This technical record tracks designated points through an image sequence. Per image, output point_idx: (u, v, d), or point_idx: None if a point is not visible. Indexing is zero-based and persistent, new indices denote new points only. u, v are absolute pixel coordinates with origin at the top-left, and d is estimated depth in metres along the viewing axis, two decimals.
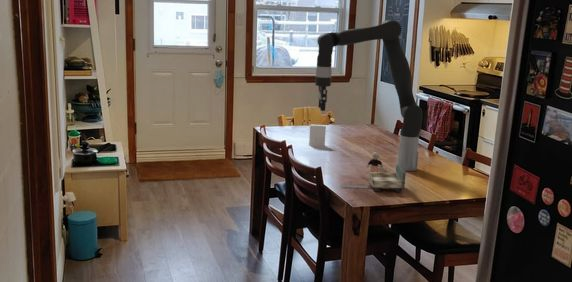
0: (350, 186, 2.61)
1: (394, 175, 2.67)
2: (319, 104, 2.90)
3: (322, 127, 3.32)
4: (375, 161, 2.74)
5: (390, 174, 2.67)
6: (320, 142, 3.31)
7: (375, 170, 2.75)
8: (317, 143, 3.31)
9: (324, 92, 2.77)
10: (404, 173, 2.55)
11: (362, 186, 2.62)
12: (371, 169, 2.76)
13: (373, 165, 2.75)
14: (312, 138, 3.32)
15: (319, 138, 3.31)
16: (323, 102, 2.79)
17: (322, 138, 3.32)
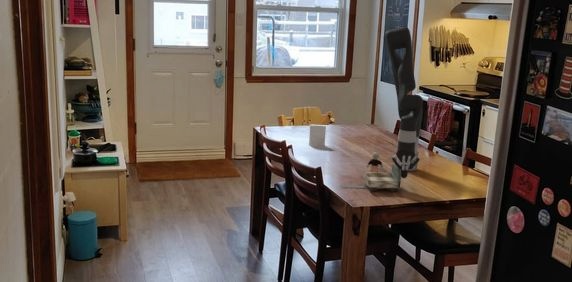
0: (350, 186, 2.61)
1: (390, 175, 2.67)
2: None
3: (322, 127, 3.32)
4: (375, 161, 2.74)
5: (386, 174, 2.67)
6: (320, 142, 3.31)
7: (375, 170, 2.75)
8: (317, 143, 3.31)
9: None
10: (400, 173, 2.54)
11: (362, 186, 2.62)
12: (371, 169, 2.76)
13: (373, 165, 2.75)
14: (312, 138, 3.32)
15: (319, 138, 3.31)
16: None
17: (322, 138, 3.32)
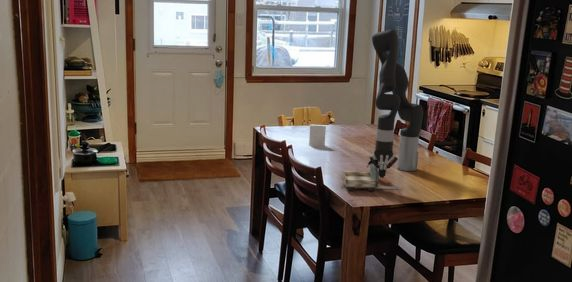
0: None
1: (368, 174, 2.67)
2: None
3: (322, 127, 3.32)
4: (375, 161, 2.74)
5: (364, 173, 2.66)
6: (320, 142, 3.31)
7: None
8: (317, 143, 3.31)
9: None
10: (377, 172, 2.54)
11: None
12: None
13: None
14: (312, 138, 3.32)
15: (319, 138, 3.31)
16: None
17: (322, 138, 3.32)
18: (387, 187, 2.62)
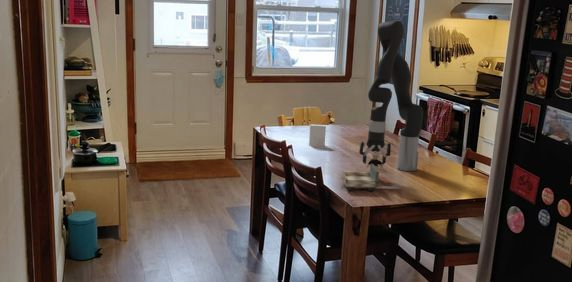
0: None
1: (368, 174, 2.67)
2: None
3: (322, 127, 3.32)
4: (375, 161, 2.74)
5: (364, 173, 2.66)
6: (320, 142, 3.31)
7: None
8: (317, 143, 3.31)
9: None
10: (377, 172, 2.54)
11: None
12: None
13: None
14: (312, 138, 3.32)
15: (319, 138, 3.31)
16: None
17: (322, 138, 3.32)
18: (387, 187, 2.62)
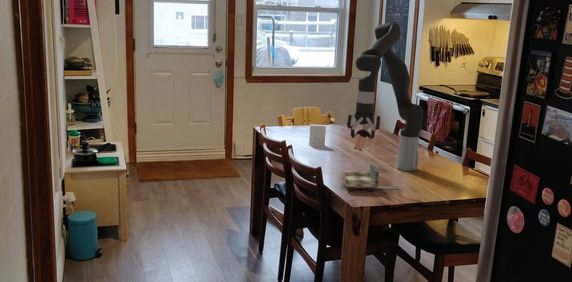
0: None
1: (368, 174, 2.67)
2: None
3: (322, 127, 3.32)
4: (364, 132, 2.56)
5: (364, 173, 2.66)
6: (320, 142, 3.31)
7: (362, 141, 2.56)
8: (317, 143, 3.31)
9: None
10: (377, 172, 2.54)
11: None
12: (358, 139, 2.57)
13: (361, 136, 2.56)
14: (312, 138, 3.32)
15: (319, 138, 3.31)
16: None
17: (322, 138, 3.32)
18: (387, 187, 2.62)
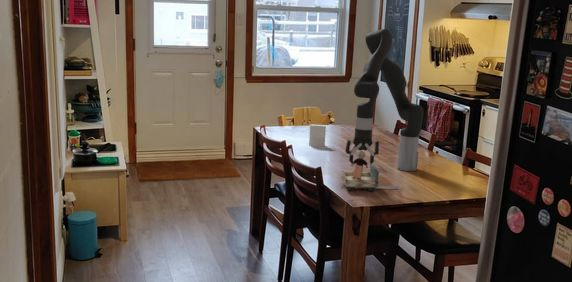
0: None
1: (368, 174, 2.67)
2: (352, 160, 2.58)
3: (322, 127, 3.32)
4: (360, 160, 2.58)
5: (364, 173, 2.66)
6: (320, 142, 3.31)
7: (359, 170, 2.59)
8: (317, 143, 3.31)
9: None
10: (377, 172, 2.54)
11: None
12: (355, 169, 2.59)
13: (358, 164, 2.59)
14: (312, 138, 3.32)
15: (319, 138, 3.31)
16: None
17: (322, 138, 3.32)
18: (387, 187, 2.62)
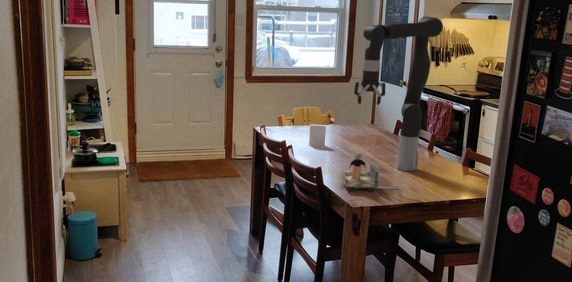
0: None
1: (368, 174, 2.67)
2: None
3: (322, 127, 3.32)
4: (358, 161, 2.58)
5: (364, 173, 2.66)
6: (320, 142, 3.31)
7: (358, 171, 2.58)
8: (317, 143, 3.31)
9: None
10: (377, 172, 2.54)
11: None
12: (354, 170, 2.59)
13: (356, 165, 2.58)
14: (312, 138, 3.32)
15: (319, 138, 3.31)
16: None
17: (322, 138, 3.32)
18: (387, 187, 2.62)
